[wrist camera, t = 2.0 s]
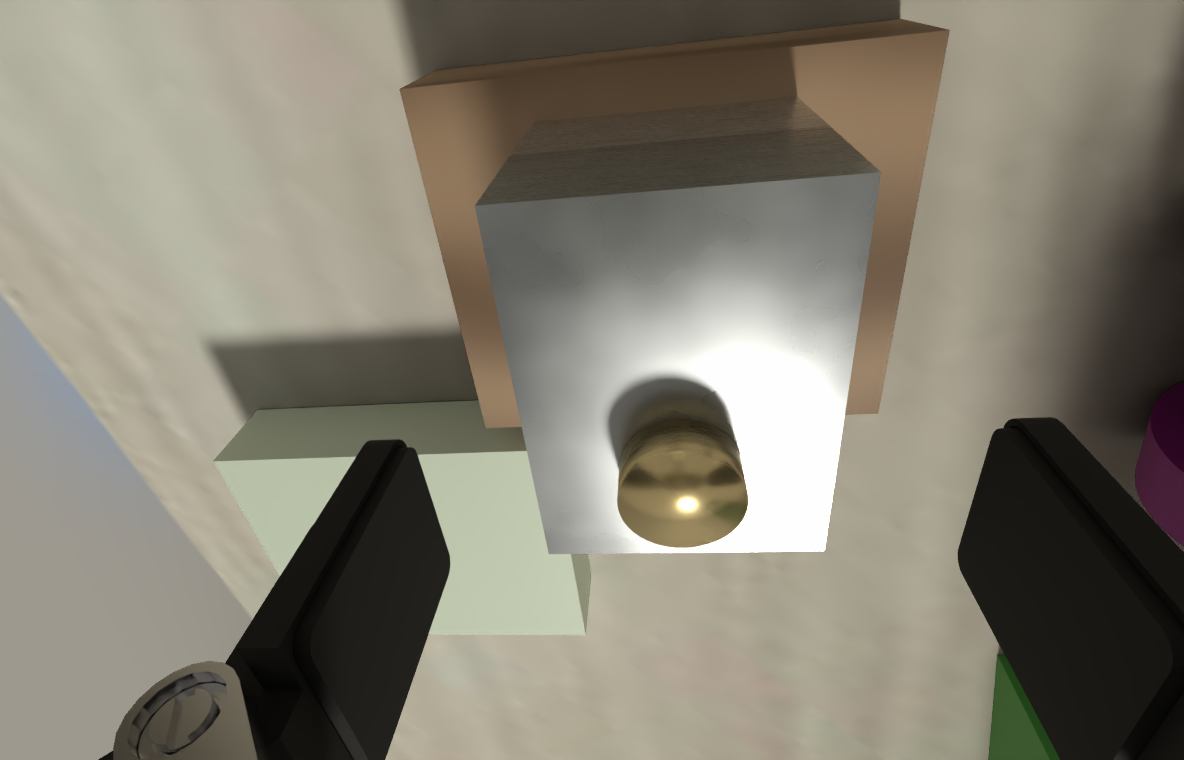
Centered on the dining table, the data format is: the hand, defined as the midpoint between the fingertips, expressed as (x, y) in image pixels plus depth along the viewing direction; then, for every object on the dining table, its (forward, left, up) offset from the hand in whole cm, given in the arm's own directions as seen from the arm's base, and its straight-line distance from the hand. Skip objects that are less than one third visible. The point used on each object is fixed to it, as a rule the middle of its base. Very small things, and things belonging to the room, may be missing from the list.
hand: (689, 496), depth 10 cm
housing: (-1, 0, -8) cm, 8 cm away
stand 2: (-1, 0, -11) cm, 11 cm away
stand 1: (+10, -10, -11) cm, 18 cm away
